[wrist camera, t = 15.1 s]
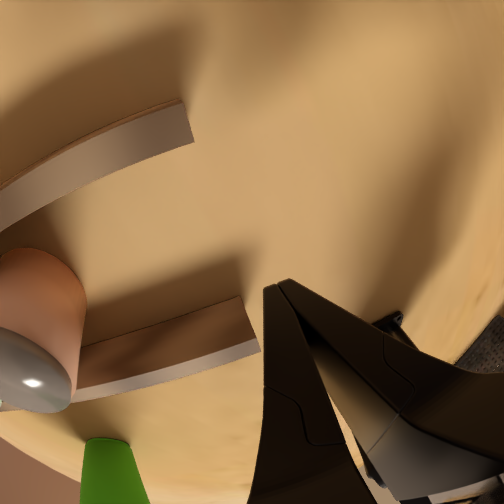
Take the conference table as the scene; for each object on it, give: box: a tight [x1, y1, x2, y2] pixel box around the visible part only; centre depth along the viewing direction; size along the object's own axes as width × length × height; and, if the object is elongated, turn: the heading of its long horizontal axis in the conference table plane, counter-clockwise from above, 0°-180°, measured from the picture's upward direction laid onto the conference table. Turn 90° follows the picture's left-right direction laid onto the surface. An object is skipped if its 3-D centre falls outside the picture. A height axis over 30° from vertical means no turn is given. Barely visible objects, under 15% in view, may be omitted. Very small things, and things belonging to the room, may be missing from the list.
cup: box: [80, 438, 150, 504], centre depth 18 cm, size 9×9×11 cm
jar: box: [0, 247, 87, 413], centre depth 9 cm, size 6×6×5 cm
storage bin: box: [455, 315, 504, 373], centre depth 44 cm, size 29×19×13 cm
